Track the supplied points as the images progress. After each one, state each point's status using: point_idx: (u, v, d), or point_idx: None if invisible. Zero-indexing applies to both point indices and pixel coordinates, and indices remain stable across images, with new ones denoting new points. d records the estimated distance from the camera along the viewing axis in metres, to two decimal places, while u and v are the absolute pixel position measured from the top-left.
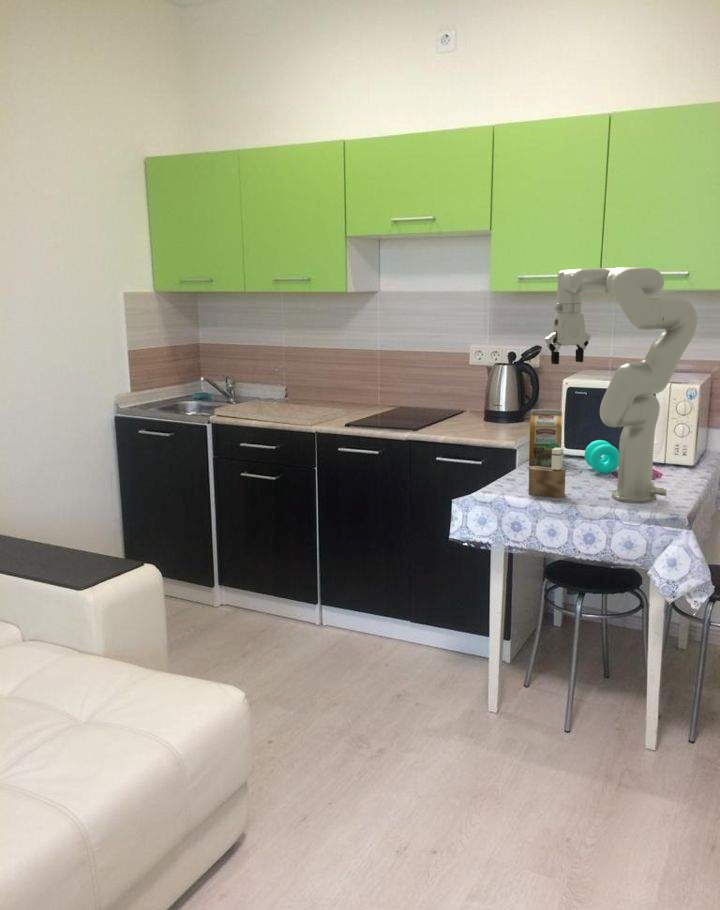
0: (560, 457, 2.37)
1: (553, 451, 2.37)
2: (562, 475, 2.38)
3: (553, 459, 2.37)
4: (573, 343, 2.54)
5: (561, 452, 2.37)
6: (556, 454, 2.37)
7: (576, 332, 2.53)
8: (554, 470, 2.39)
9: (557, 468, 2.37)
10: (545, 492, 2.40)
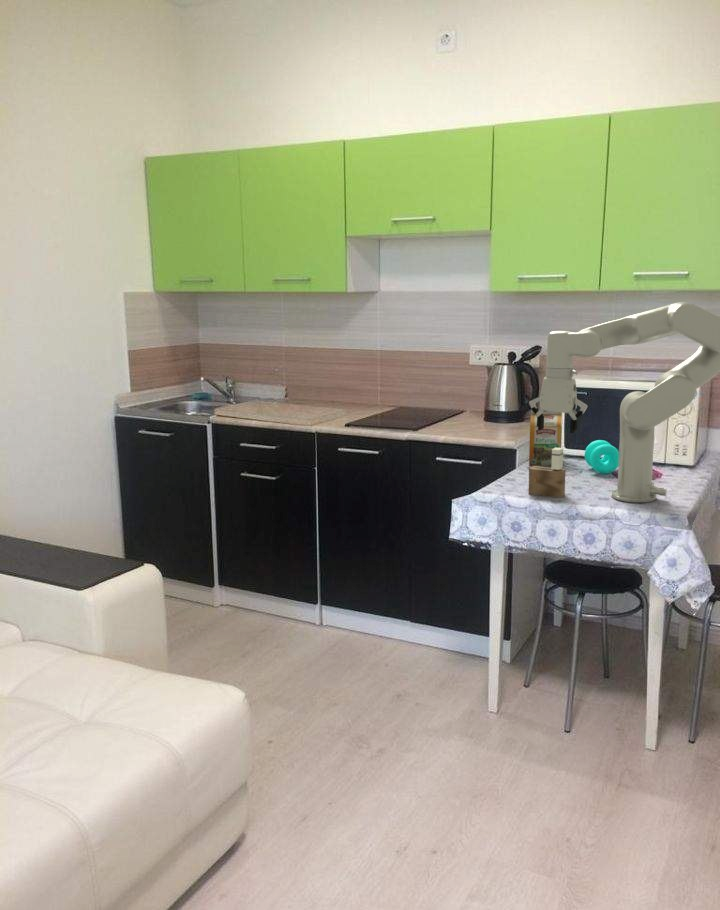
0: (560, 457, 2.37)
1: (553, 451, 2.37)
2: (562, 475, 2.38)
3: (553, 459, 2.37)
4: None
5: (561, 452, 2.37)
6: (556, 454, 2.37)
7: None
8: (554, 470, 2.39)
9: (557, 468, 2.37)
10: (545, 492, 2.40)
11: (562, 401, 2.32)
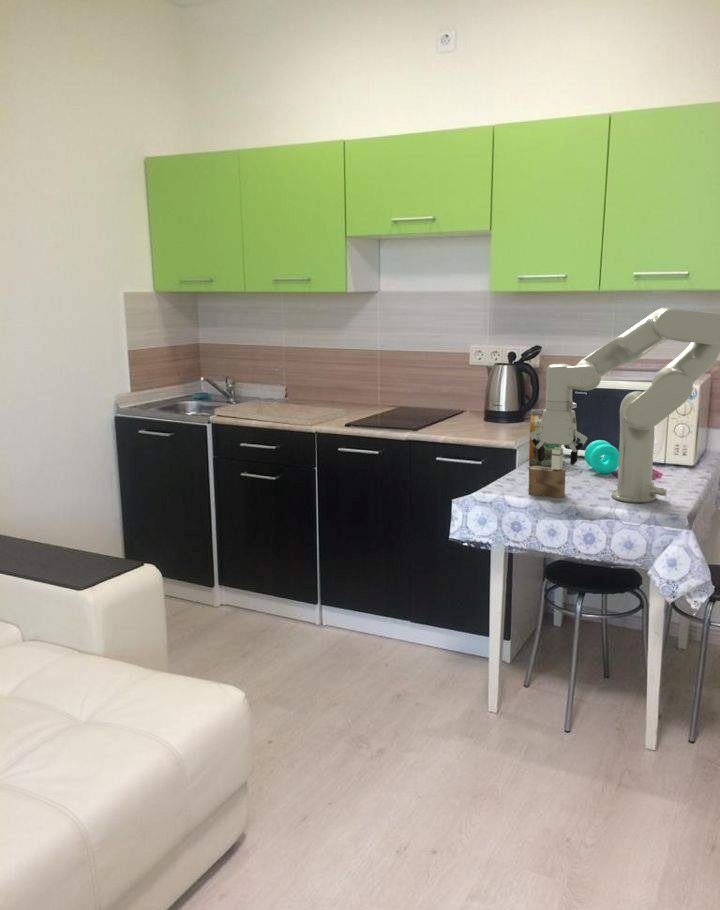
0: (560, 457, 2.37)
1: (553, 451, 2.37)
2: (562, 475, 2.38)
3: (553, 459, 2.37)
4: None
5: (561, 452, 2.37)
6: (556, 454, 2.37)
7: None
8: (554, 470, 2.39)
9: (557, 468, 2.37)
10: (545, 492, 2.40)
11: (562, 433, 2.34)
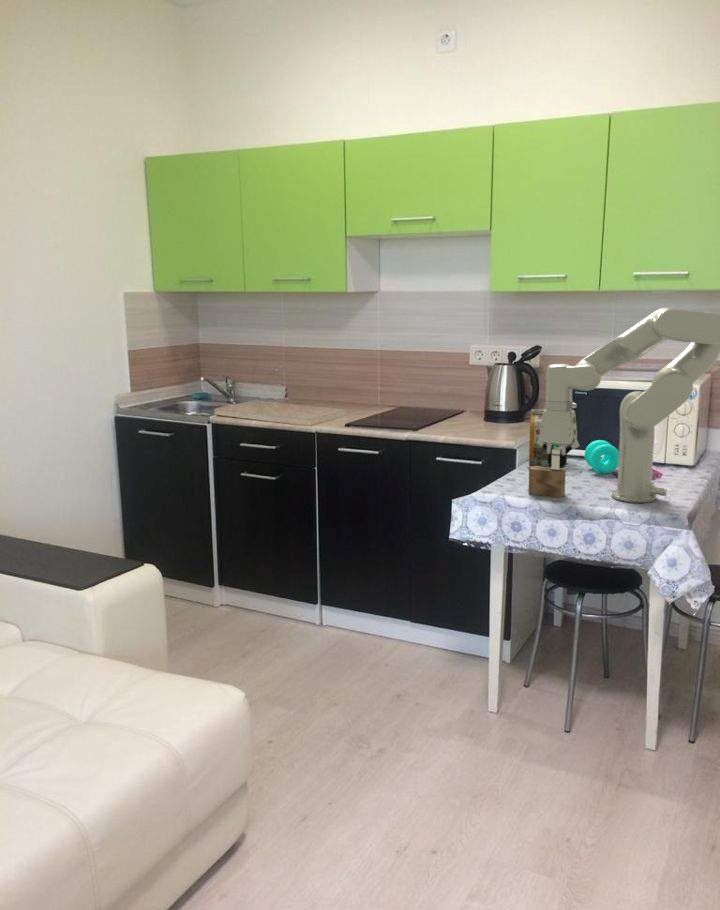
0: None
1: (553, 451, 2.37)
2: (562, 475, 2.38)
3: (553, 459, 2.37)
4: None
5: (561, 452, 2.37)
6: (556, 454, 2.37)
7: None
8: (554, 470, 2.39)
9: (557, 468, 2.37)
10: (545, 492, 2.40)
11: (562, 433, 2.34)
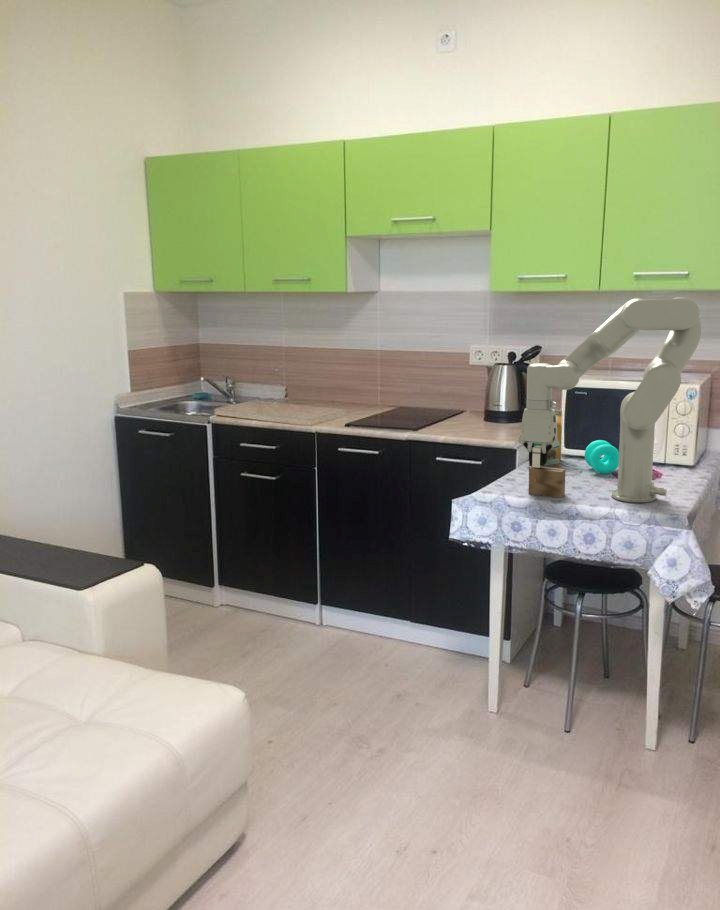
0: None
1: (534, 449, 2.40)
2: (562, 475, 2.38)
3: (534, 457, 2.41)
4: None
5: None
6: (537, 452, 2.40)
7: None
8: (554, 470, 2.39)
9: (538, 466, 2.40)
10: (545, 492, 2.40)
11: (542, 432, 2.37)
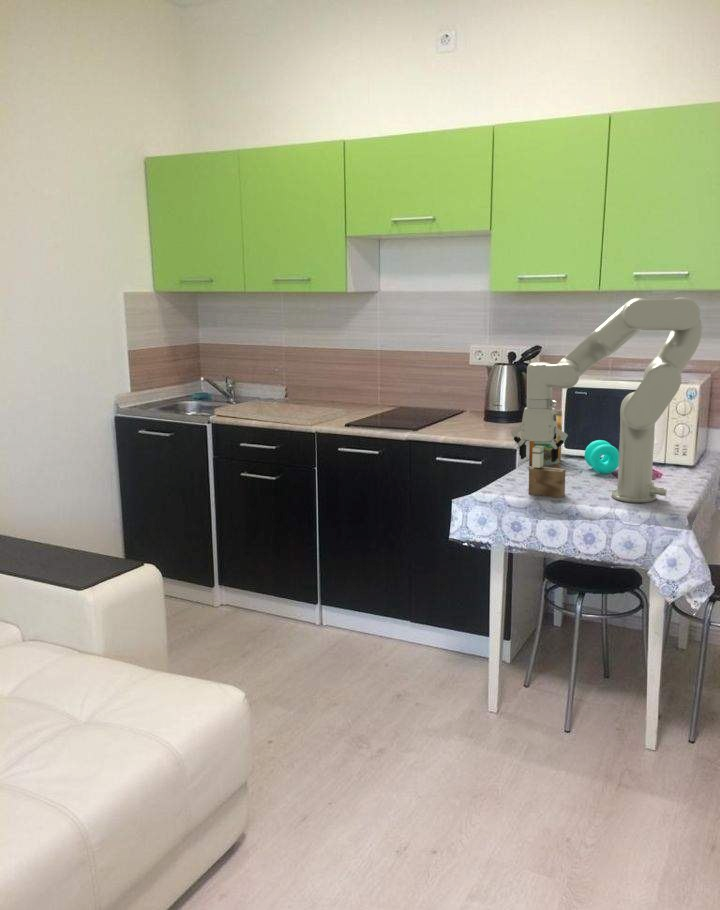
0: (541, 455, 2.40)
1: (534, 449, 2.40)
2: (562, 475, 2.38)
3: (534, 457, 2.41)
4: None
5: (542, 450, 2.41)
6: (537, 452, 2.40)
7: None
8: (554, 470, 2.39)
9: (538, 466, 2.40)
10: (545, 492, 2.40)
11: (543, 431, 2.37)
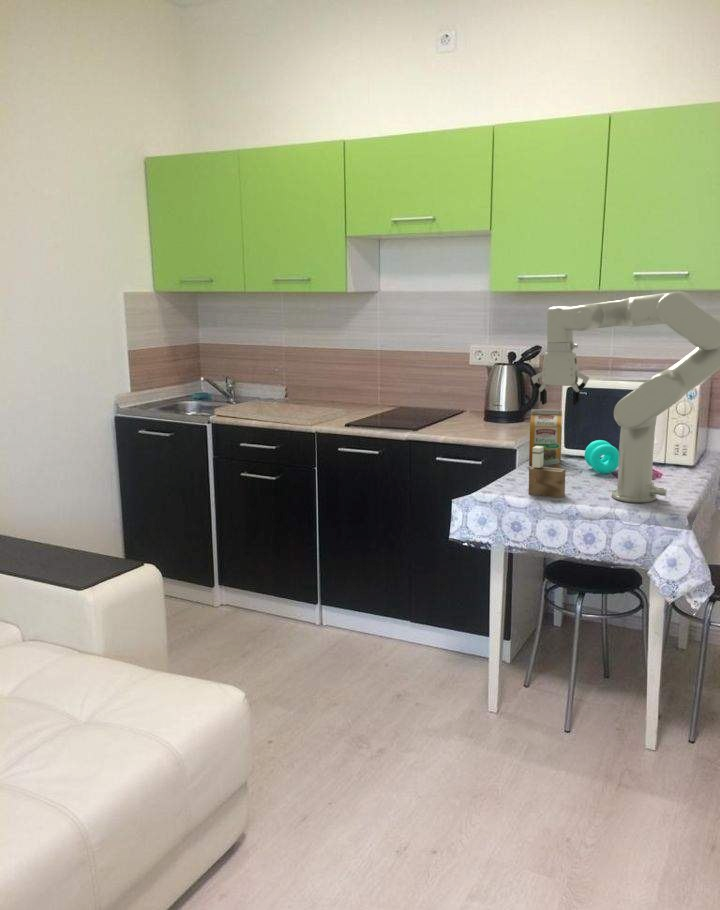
0: (541, 455, 2.40)
1: (534, 449, 2.40)
2: (562, 475, 2.38)
3: (534, 457, 2.41)
4: None
5: (542, 450, 2.41)
6: (537, 452, 2.40)
7: None
8: (554, 470, 2.39)
9: (538, 466, 2.40)
10: (545, 492, 2.40)
11: (564, 374, 2.38)
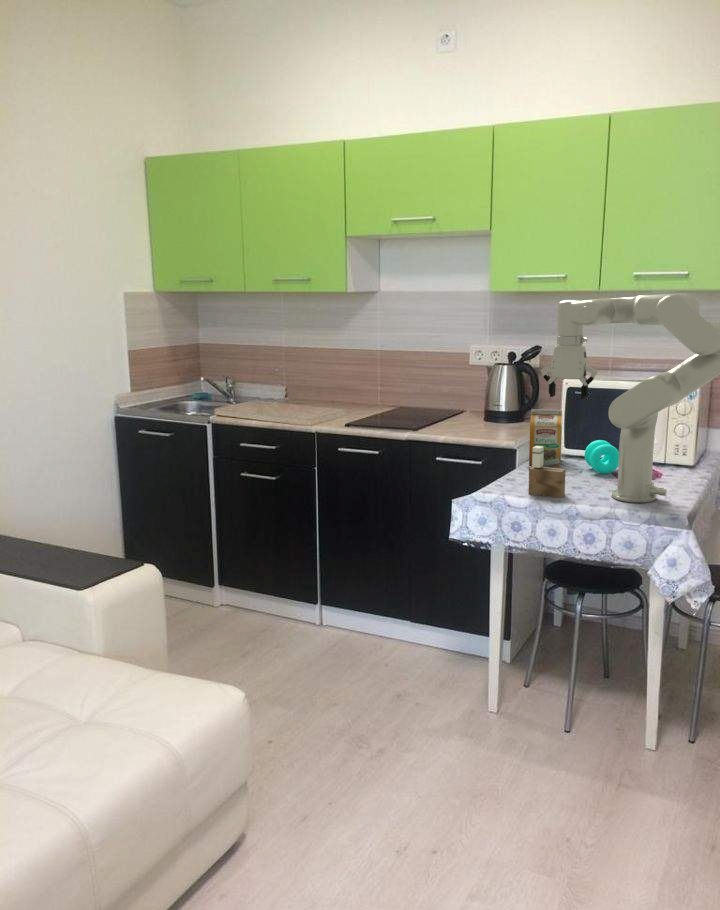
0: (541, 455, 2.40)
1: (534, 449, 2.40)
2: (562, 475, 2.38)
3: (534, 457, 2.41)
4: None
5: (542, 450, 2.41)
6: (537, 452, 2.40)
7: None
8: (554, 470, 2.39)
9: (538, 466, 2.40)
10: (545, 492, 2.40)
11: (573, 368, 2.40)
